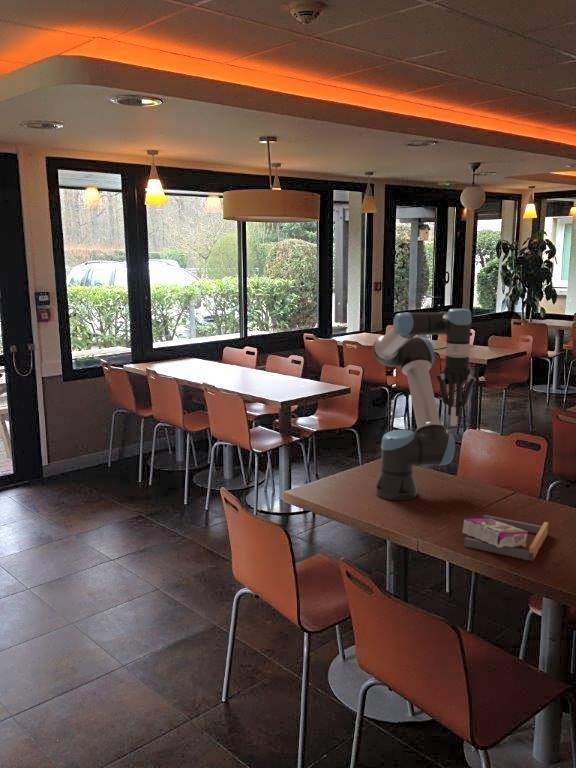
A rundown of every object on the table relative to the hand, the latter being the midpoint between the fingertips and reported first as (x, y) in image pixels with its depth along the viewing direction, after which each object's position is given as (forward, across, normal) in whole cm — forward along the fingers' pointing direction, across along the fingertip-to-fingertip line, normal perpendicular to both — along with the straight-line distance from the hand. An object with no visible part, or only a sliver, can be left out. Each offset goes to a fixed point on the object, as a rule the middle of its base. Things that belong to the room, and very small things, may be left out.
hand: (453, 425), depth 230 cm
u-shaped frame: (+30, +23, -15) cm, 41 cm away
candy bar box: (+27, +14, -16) cm, 34 cm away
